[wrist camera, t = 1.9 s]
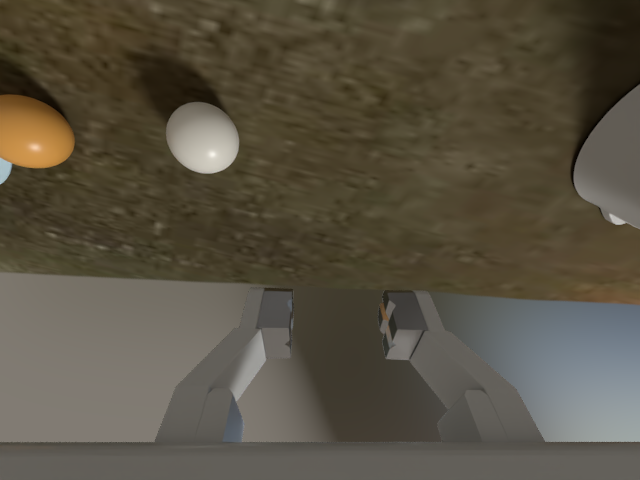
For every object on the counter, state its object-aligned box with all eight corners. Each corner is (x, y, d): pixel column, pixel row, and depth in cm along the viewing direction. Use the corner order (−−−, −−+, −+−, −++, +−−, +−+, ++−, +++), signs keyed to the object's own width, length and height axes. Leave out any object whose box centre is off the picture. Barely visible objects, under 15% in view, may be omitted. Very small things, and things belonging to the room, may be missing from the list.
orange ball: (56, 81, 22) (-8, 95, 18) (103, 146, 25) (60, 172, 21) (-1, 96, 23) (-75, 114, 18) (53, 158, 26) (1, 185, 22)
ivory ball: (230, 88, 22) (210, 104, 18) (253, 151, 26) (241, 177, 21) (169, 103, 23) (136, 121, 19) (200, 163, 26) (178, 190, 22)
